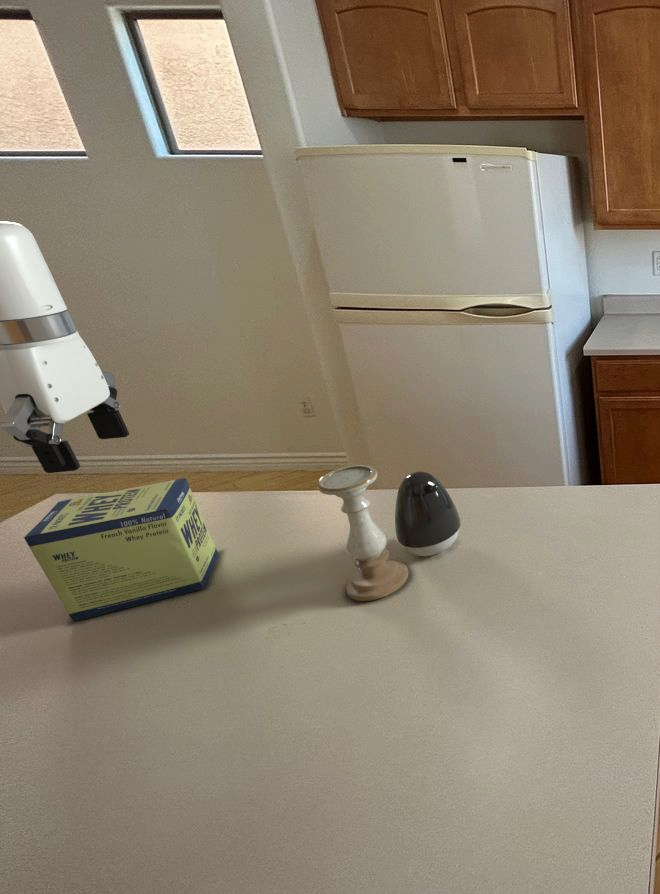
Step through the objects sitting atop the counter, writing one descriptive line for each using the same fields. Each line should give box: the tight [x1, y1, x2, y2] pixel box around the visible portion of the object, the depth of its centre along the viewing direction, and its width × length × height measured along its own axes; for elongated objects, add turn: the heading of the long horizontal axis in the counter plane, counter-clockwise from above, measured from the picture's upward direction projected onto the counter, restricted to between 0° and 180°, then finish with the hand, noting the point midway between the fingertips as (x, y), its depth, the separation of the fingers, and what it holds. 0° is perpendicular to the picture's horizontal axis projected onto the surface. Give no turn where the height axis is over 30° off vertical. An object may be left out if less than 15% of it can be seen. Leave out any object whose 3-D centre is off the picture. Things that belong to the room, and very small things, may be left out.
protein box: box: [23, 477, 220, 622], centre depth 86 cm, size 10×16×16 cm
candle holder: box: [317, 464, 409, 602], centre depth 87 cm, size 9×9×20 cm
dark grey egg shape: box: [394, 470, 461, 557], centre depth 97 cm, size 10×10×15 cm
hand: (90, 453), depth 74 cm, fingers open, 9 cm apart
